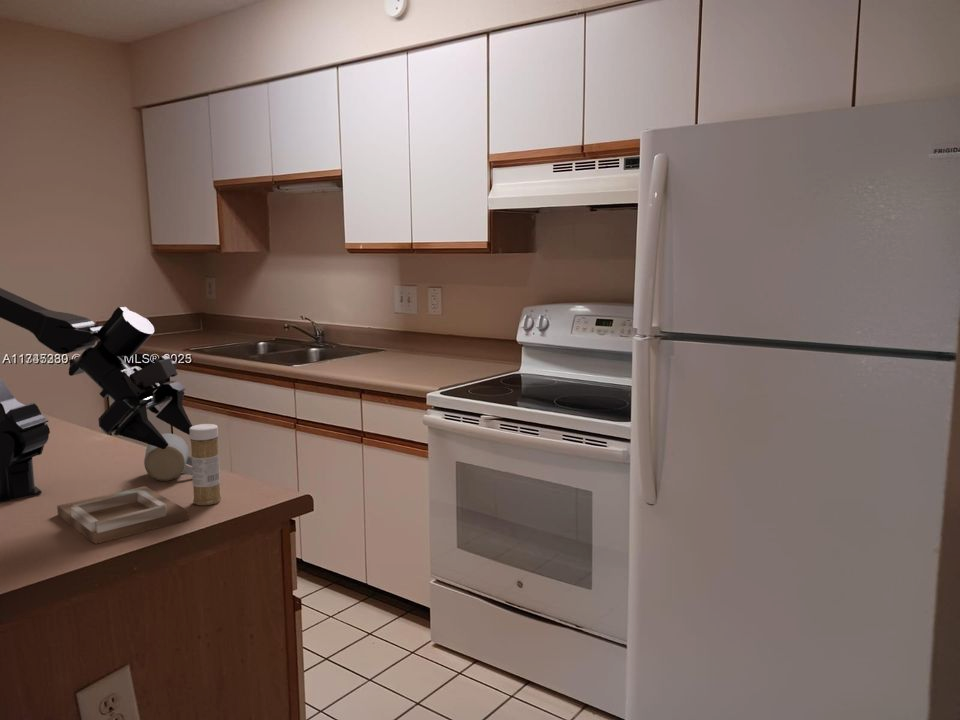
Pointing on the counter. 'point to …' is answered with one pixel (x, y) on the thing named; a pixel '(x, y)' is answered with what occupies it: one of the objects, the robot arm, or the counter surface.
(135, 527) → the socket board
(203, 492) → the sprinkles bottle
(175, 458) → the ceramic mug
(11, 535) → the counter surface
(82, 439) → the counter surface
